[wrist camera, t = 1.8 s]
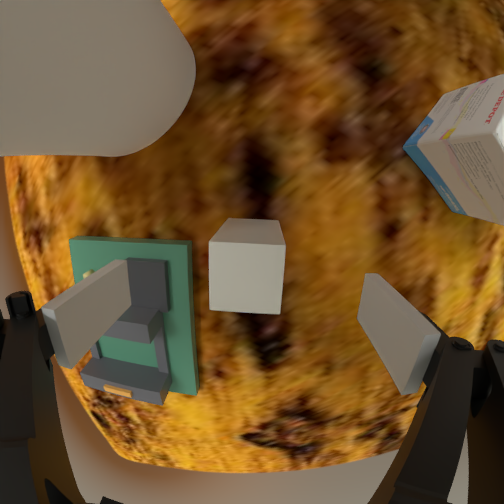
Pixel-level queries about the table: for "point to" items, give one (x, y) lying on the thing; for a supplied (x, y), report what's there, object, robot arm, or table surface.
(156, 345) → the board
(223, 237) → the plug
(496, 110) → the ink box
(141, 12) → the canister
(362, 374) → the table surface
